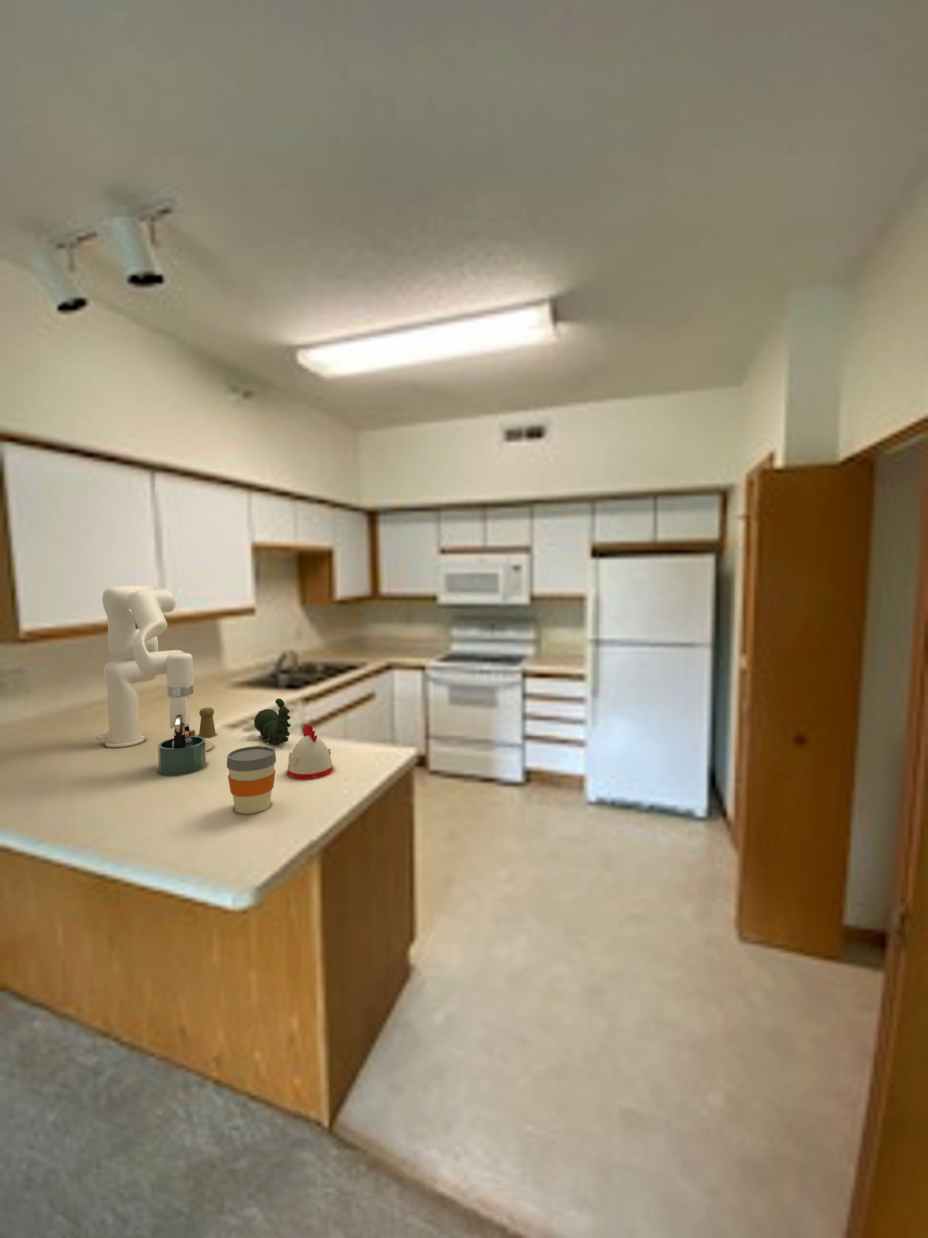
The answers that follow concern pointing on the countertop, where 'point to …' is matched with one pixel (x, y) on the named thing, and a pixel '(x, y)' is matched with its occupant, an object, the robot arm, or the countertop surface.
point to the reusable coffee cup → (251, 778)
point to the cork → (207, 723)
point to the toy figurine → (273, 723)
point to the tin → (182, 757)
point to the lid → (208, 744)
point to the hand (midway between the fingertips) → (182, 742)
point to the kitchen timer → (309, 757)
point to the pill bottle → (187, 739)
